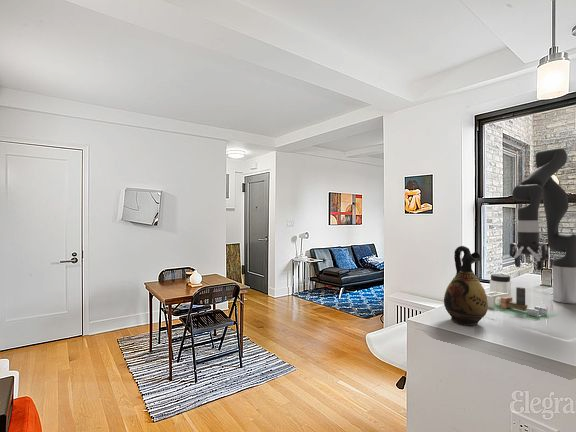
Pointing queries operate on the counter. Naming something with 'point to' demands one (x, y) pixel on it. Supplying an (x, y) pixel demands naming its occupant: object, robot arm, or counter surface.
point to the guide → (537, 312)
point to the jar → (500, 283)
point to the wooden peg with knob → (520, 300)
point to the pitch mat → (519, 313)
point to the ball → (498, 301)
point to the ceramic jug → (465, 291)
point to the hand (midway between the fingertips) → (528, 268)
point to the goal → (494, 297)
